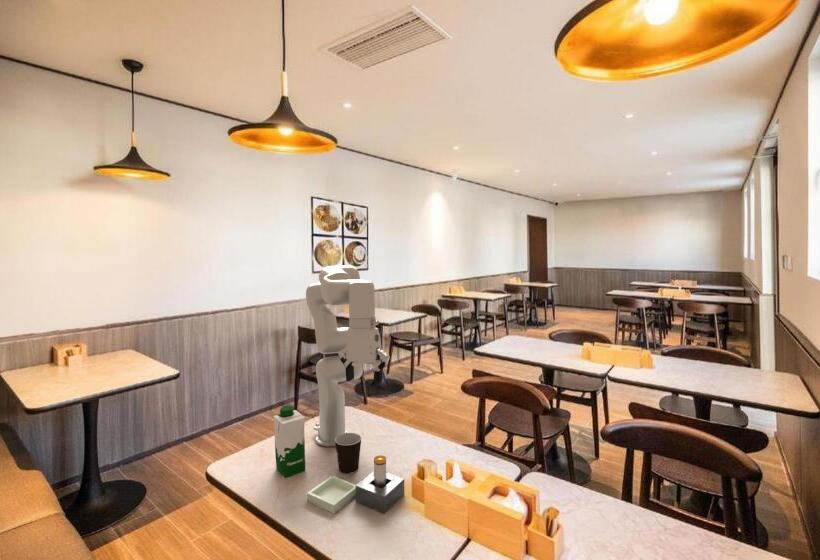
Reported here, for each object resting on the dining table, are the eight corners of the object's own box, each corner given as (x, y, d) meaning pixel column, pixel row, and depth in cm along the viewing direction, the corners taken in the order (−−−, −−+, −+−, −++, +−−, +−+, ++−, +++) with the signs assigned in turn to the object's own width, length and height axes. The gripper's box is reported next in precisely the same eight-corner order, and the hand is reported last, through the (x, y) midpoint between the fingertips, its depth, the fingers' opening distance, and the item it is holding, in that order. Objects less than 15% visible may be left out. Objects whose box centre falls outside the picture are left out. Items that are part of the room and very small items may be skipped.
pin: (371, 499, 114) (371, 459, 113) (379, 493, 117) (378, 454, 116) (381, 503, 112) (381, 463, 111) (388, 497, 115) (388, 457, 114)
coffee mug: (356, 476, 126) (356, 446, 125) (331, 474, 127) (330, 443, 127) (367, 458, 137) (367, 430, 136) (344, 455, 139) (343, 428, 138)
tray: (307, 501, 113) (306, 493, 113) (332, 483, 122) (332, 475, 122) (334, 513, 108) (334, 505, 108) (358, 494, 117) (358, 485, 117)
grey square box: (355, 502, 113) (355, 485, 113) (376, 484, 121) (376, 468, 121) (384, 514, 108) (384, 496, 107) (404, 495, 116) (404, 478, 116)
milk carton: (297, 459, 136) (296, 403, 135) (309, 470, 129) (308, 411, 128) (272, 468, 131) (270, 409, 129) (283, 481, 124) (281, 418, 122)
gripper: (394, 323, 114) (396, 381, 115) (345, 320, 122) (347, 375, 123) (381, 327, 108) (382, 389, 108) (330, 324, 115) (332, 382, 116)
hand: (363, 381), depth 116 cm, fingers open, 9 cm apart
